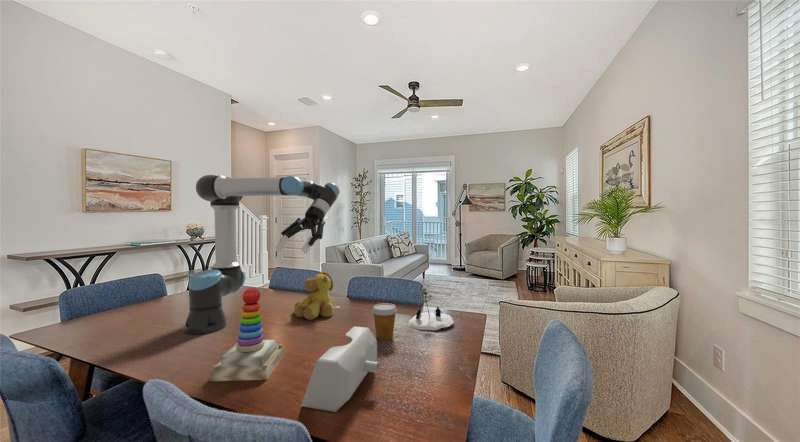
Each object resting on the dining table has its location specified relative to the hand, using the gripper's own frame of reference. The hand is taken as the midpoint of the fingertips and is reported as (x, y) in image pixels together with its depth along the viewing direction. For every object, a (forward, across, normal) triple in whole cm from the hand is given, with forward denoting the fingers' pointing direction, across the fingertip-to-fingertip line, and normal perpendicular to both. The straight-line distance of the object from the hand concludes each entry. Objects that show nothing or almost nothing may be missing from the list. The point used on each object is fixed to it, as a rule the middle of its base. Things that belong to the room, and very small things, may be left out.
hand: (290, 250), depth 120 cm
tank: (+36, -41, -12) cm, 56 cm away
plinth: (+40, -6, -8) cm, 41 cm away
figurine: (-3, -43, -51) cm, 67 cm away
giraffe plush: (+5, +12, -43) cm, 45 cm away
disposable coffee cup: (+12, -32, -36) cm, 50 cm away
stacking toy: (+36, -6, -4) cm, 37 cm away
